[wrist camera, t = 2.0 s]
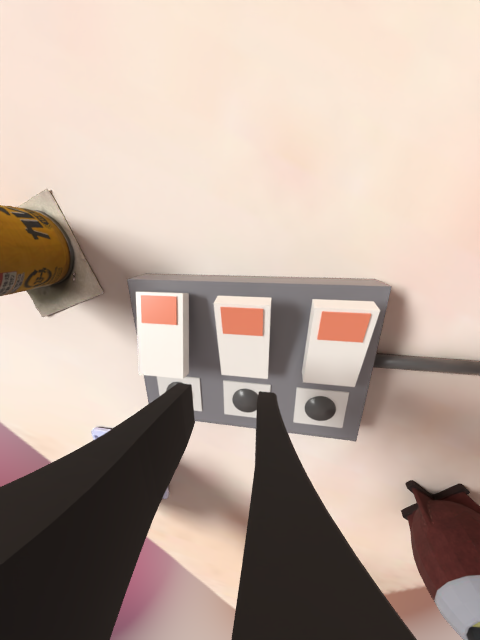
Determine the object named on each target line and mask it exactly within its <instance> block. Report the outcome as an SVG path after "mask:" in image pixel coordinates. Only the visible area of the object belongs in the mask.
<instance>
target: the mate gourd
mask: <svg viewBox="0 0 480 640" xmlns="http://www.w3.org/2000/svg"><path fill="white" fill-rule="evenodd" d="M406 486H407V488H408V489H409V490H410V491H411V492H412V493H413V494H414V496H415V499H416V501H417V503H416V504H414V505H411V506H409V507H407V508H405V509H403V510H401V512H402V515H403V517H404V518H405V519H406V520H408V522H409V526H410V531H411V543H412V549H413V555H414V559H415V562H416V565H417V568H418V571H419V573H420V575H421V577H422V579H423V581H424V583H425V585H426V587H427V589H428V591H429V593H430V595H431V597H432V598H433V600H434V602H435V603H436V605H437V607H438V609H439V611H440V613H441V614H442V616H443V617H444V619H445V620H446V621H447V622H448V623H449V624H450V625H451V626H452V628H453V629H454V630H455V631H456V632H457V633H458V634H459V635H460V636H461V637H462V639H463V640H480V506H479V505H477V504H476V503H475V502H474V501H473V500H472V499H471V498H470V497H469V496H468V495H467V494H469V493H470V492H469V491H468V490H467V489H466V488H465V487H464V486H463V485H462V484H458V485H455V486H453V487H451V488H448V489H446V490H444V491H442V492H440V493H437V494H435V495H431V494H430V493H429V492H427V491H426V490H425V489H423V488H422V487H421V486H419V485H418V484H417V483H416V482H414V481H413V480H412V481H409V482H407V483H406Z"/></svg>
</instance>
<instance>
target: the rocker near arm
mask: <svg viewBox="0 0 480 640" xmlns="http://www.w3.org/2000/svg"><path fill="white" fill-rule="evenodd" d="M136 313H137V341H138V370H139V375H148V376H159V377H169V378H179V379H184V378H185V377H186V376H187V375H188V374H189V293H171V292H136Z"/></svg>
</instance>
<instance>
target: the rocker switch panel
mask: <svg viewBox="0 0 480 640" xmlns="http://www.w3.org/2000/svg"><path fill="white" fill-rule="evenodd" d="M127 281H128V287H129V293H130V298H131V304H132V310H133V316H134V321H135V327H136V333H137V313H136V292H171V293H189V374H188V375H187V376H186V377H185V378H184V379H179V378H169V377H159V376H148V375H144V379H145V385H146V390H147V396H148V402H149V404H150V403H151V402H152V401H154V400H155V399H157V398H158V397H159V396H161V395H162V394H163V393H165V392H166V391H167V390H169V389H170V388H172V387H173V386H174V385H176V384H177V383H182V384H191V385H192V396H193V407H194V418H195V421H200V422H208V423H216V424H224V425H232V426H239V427H247V428H255V429H256V415H257V399H258V394H259V391H261V392H271V393H275V394H276V395H277V401H278V406H279V410H280V413H281V416H282V419H283V422H284V425H285V428H286V430H287V433H295V434H303V435H311V436H319V437H326V438H334V439H342V440H350V441H356V440H357V435H358V431H359V426H360V422H361V418H362V413H363V409H364V405H365V400H366V396H367V391H368V387H369V383H370V378H371V374H372V370H373V367H379V368H392V369H404V370H417V371H430V372H443V373H455V374H468V375H480V361H471V360H457V359H443V358H429V357H414V356H400V355H386V354H376V352H377V348H378V343H379V339H380V335H381V330H382V326H383V321H384V317H385V313H386V308H387V304H388V300H389V295H390V291H391V286H389V285H387V284H385V283H383V282H380V281H378V280H376V279H351V278H309V277H266V276H223V275H180V274H144V275H140V276H136V277H133V278H129V279H127ZM217 296H243V297H270V298H271V321H270V345H269V369H268V379H262V378H251V377H240V376H229V375H221V366H220V357H219V348H218V339H217V330H216V321H215V312H214V302H215V300H216V298H217ZM312 299H323V300H350V301H374V303H375V304H376V305H377V307H378V308H379V309H380V313H379V316H378V319H377V322H376V325H375V328H374V331H373V334H372V337H371V340H370V343H369V346H368V349H367V352H366V355H365V358H364V361H363V364H362V367H361V370H360V373H359V376H358V379H357V382H356V385H355V387H349V386H338V385H327V384H316V383H305V382H303V378H302V367H303V360H304V354H305V347H306V340H307V333H308V326H309V320H310V313H311V306H312Z"/></svg>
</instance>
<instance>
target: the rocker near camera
mask: <svg viewBox="0 0 480 640" xmlns="http://www.w3.org/2000/svg"><path fill="white" fill-rule="evenodd" d="M379 313H380V309H379V308H378V307H377V305H376V304H375V303H374V301H350V300H323V299H312V306H311V313H310V320H309V326H308V333H307V340H306V347H305V354H304V360H303V367H302V378H303V382H305V383H316V384H327V385H338V386H349V387H355V385H356V382H357V379H358V376H359V373H360V370H361V367H362V364H363V361H364V358H365V355H366V352H367V349H368V346H369V343H370V340H371V337H372V334H373V331H374V328H375V325H376V322H377V319H378V316H379Z"/></svg>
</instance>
